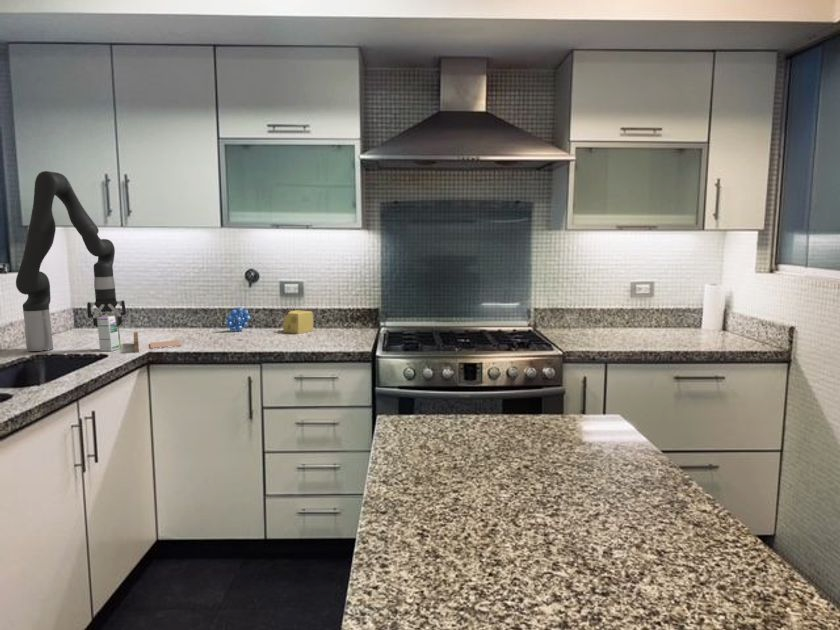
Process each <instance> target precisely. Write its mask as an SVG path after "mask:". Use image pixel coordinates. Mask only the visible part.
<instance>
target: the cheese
mask: <svg viewBox="0 0 840 630" xmlns="http://www.w3.org/2000/svg"><path fill="white" fill-rule="evenodd" d="M283 322H284V324H283V333H287V334H288V333H289V334H295V335H301V334H304V333H309V332H313V331H314V313H313V311H307V310H301V309H300V310H299V309H296V310H292V311H291V310H290V311H289V312H287V314H286V316H284V317H283Z"/></svg>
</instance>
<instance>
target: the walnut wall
mask: <svg viewBox="0 0 840 630" xmlns="http://www.w3.org/2000/svg"><path fill="white" fill-rule="evenodd" d="M139 346H140V345H139V334H138V331H134V332H133V348H134V350H133V351H134V353H135V352H136V353H140V347H139Z"/></svg>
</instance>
